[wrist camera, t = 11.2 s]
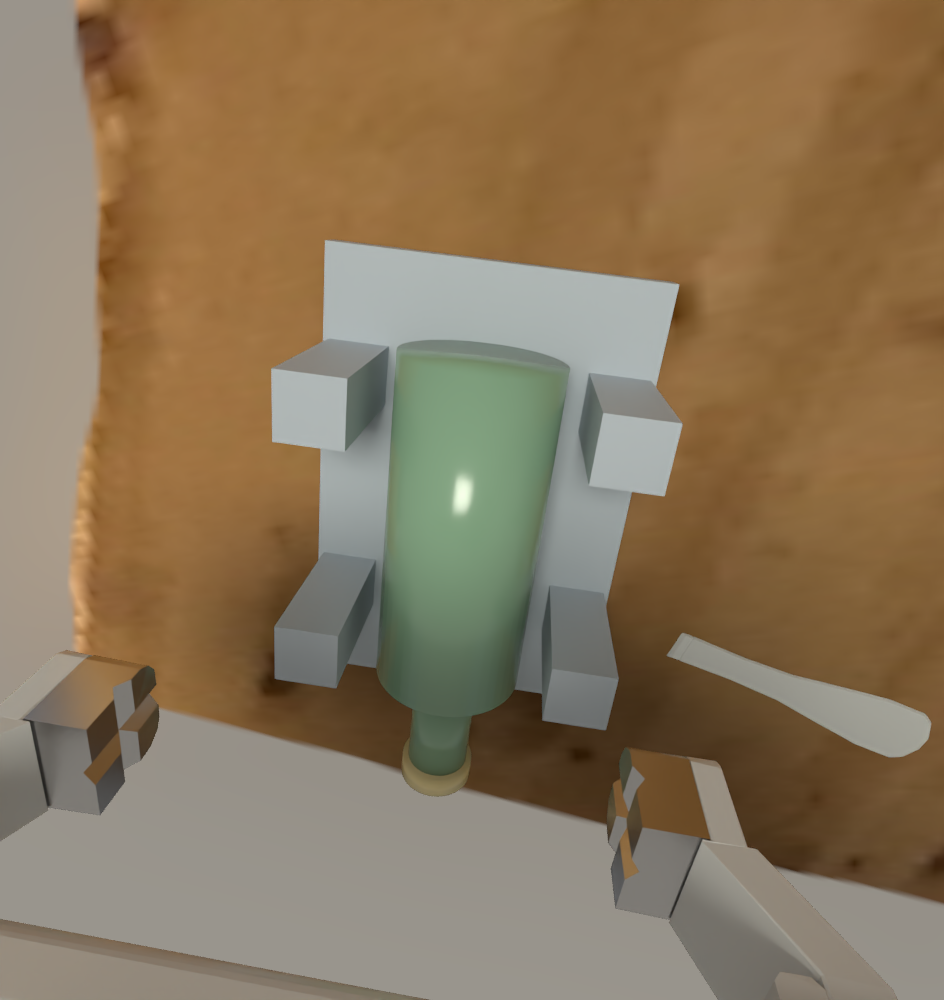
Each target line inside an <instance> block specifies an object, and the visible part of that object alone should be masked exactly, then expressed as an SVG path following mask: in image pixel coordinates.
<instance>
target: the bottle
mask: <svg viewBox="0 0 944 1000" xmlns="http://www.w3.org/2000/svg"><path fill="white" fill-rule="evenodd" d="M569 374H570V367H569V366H568V365H567V364H566V363H564V362H563V361H561V360H559V359H556V358H554V357H551V356H548V355H545V354H541V353H538V352H534V351H530V350H526V349H521V348H516V347H511V346H505V345H498V344H491V343H483V342H474V341H461V340H421V341H412V342H407V343H404V344H401V345H399V346H398V347H397V349H396V364H395V380H394V396H393V411H392V427H391V443H390V459H389V474H388V490H387V506H386V522H385V537H384V553H383V569H382V584H381V600H380V616H379V632H378V647H377V663H376V669H377V675H378V678H379V681H380V682H381V684H382V686H383V687H384V689H385V690H386V691H387V692H388V693H389V694H390V695H391V696H392V697H393V698H394V699H396V700H397V701H398V702H400V703H402V704H404V705H405V706H407V707H409V708H412V718H411V728H410V738H409V739H408V740H407V741H406V743H405V745H404V748H403V757H402V775H403V777H404V779H405V781H406V782H407V784H408V785H409V786H410V787H411V788H413V789H414V790H416V791H418V792H419V793H422V794H425V795H428V796H446V795H450V794H452V793H455V792H456V791H458V790H460V789H461V788H462V787H463V786H464V785H465V783H466V782H467V779H468V776H469V771H470V764H471V750H470V747H469V745H468V740H469V733H470V726H471V719H472V716H473V715H478V714H481V713H485V712H487V711H490V710H492V709H494V708H496V707H498V706H499V705H501V704H502V703H503V702H505V701H506V700H507V699H508V698H509V697H510V695H511V694H512V693H513V691H514V689H515V686H516V683H517V678H518V672H519V666H520V660H521V654H522V649H523V643H524V637H525V631H526V625H527V619H528V613H529V608H530V602H531V596H532V590H533V584H534V578H535V573H536V567H537V561H538V555H539V549H540V543H541V537H542V532H543V526H544V520H545V514H546V508H547V502H548V496H549V491H550V485H551V479H552V473H553V467H554V461H555V455H556V450H557V444H558V438H559V432H560V426H561V420H562V415H563V409H564V403H565V397H566V391H567V385H568V379H569Z"/></svg>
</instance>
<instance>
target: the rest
mask: <svg viewBox="0 0 944 1000" xmlns="http://www.w3.org/2000/svg"><path fill="white" fill-rule="evenodd" d="M678 288H679V284H677V283H674V282H669V281H661V280H653V279H645V278H637V277H629V276H621V275H613V274H605V273H597V272H589V271H581V270H573V269H565V268H557V267H549V266H541V265H533V264H525V263H517V262H509V261H501V260H493V259H485V258H477V257H469V256H461V255H453V254H445V253H437V252H429V251H421V250H413V249H405V248H397V247H389V246H381V245H373V244H365V243H357V242H349V241H341V240H325V270H324V318H323V342H321V343H319V344H317V345H315V346H314V347H312V348H310V349H308V350H306V351H304V352H302V353H300V354H298V355H296V356H294V357H292V358H291V359H289V360H287V361H285V362H283V363H281V364H279V365H277V366H275V367H273V368H271V370H272V442H278V443H285V444H292V445H299V446H306V447H314V448H321V464H320V513H319V560H318V562H317V563H316V565H315V566H314V568H313V569H312V571H311V572H310V574H309V575H308V577H307V578H306V580H305V581H304V583H303V584H302V586H301V587H300V589H299V590H298V592H297V593H296V595H295V596H294V598H293V599H292V601H291V602H290V604H289V605H288V607H287V608H286V610H285V611H284V613H283V614H282V616H281V617H280V619H279V620H278V622H277V623H276V625H275V626H274V649H275V679H278V680H285V681H291V682H298V683H304V684H311V685H317V686H323V687H330V688H337V685H338V683H339V681H340V679H341V676H342V674H343V672H344V670H345V667H346V665H347V664H353V665H359V666H366V667H372V668H376V663H377V647H378V632H379V616H380V600H381V584H382V569H383V553H384V537H385V522H386V506H387V490H388V474H389V459H390V443H391V427H392V411H393V396H394V380H395V364H396V349H397V347H398V346H399V345H401V344H404V343H407V342H412V341H421V340H461V341H474V342H483V343H491V344H498V345H505V346H511V347H516V348H521V349H526V350H530V351H534V352H538V353H541V354H545V355H548V356H551V357H554V358H556V359H559V360H561V361H563V362H564V363H566V364H567V365H568V366H569V367H570V374H569V379H568V385H567V391H566V397H565V403H564V409H563V415H562V420H561V426H560V432H559V438H558V444H557V450H556V455H555V461H554V467H553V473H552V479H551V485H550V491H549V496H548V502H547V508H546V514H545V520H544V526H543V532H542V537H541V543H540V549H539V555H538V561H537V567H536V573H535V578H534V584H533V590H532V596H531V602H530V608H529V613H528V619H527V625H526V631H525V637H524V643H523V649H522V654H521V660H520V666H519V672H518V678H517V683H516V686H515V690H522V691H528V692H535V693H541V694H542V721H548V722H555V723H561V724H568V725H574V726H581V727H587V728H593V729H600V730H606V728H607V724H608V720H609V716H610V712H611V708H612V704H613V700H614V696H615V692H616V688H617V684H618V680H619V678H618V672H617V667H616V661H615V655H614V650H613V644H612V638H611V633H610V627H609V622H608V616H607V610H606V604H607V599H608V595H609V591H610V586H611V582H612V577H613V573H614V569H615V564H616V560H617V556H618V551H619V547H620V542H621V538H622V534H623V529H624V525H625V520H626V516H627V512H628V507H629V503H630V499H631V494H632V492H637V493H644V494H651V495H658V496H665V492H666V488H667V484H668V480H669V476H670V472H671V468H672V464H673V460H674V456H675V452H676V448H677V444H678V440H679V436H680V432H681V428H682V424H683V423H682V422H681V421H680V419H679V418H678V417H677V415H676V414H675V413H674V411H673V410H672V409H671V407H670V406H669V404H668V403H667V402H666V400H665V399H664V398H663V396H662V395H661V394H660V392H659V391H658V390H657V388H656V385H657V380H658V376H659V371H660V367H661V363H662V358H663V354H664V350H665V345H666V341H667V336H668V332H669V328H670V323H671V319H672V314H673V310H674V306H675V301H676V297H677V293H678Z"/></svg>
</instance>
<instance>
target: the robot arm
mask: <svg viewBox="0 0 944 1000" xmlns="http://www.w3.org/2000/svg"><path fill="white" fill-rule="evenodd" d="M155 686H156V679H155V672H154V669H153V668H151V667H149V666H147V665H142V664H137V663H132V662H127V661H122V660H117V659H112V658H106V657H101V656H96V655H93V656H92V655H87V654H83V653H78V652H73V651H68V650H66V651H63V652H60V653H57V654H56V655H54V656H53V657H52V658H51V659H50V660H49V661H48V662H47V663H46V664H44V665H43V666H42V667H41V668H40V669H39V670H38V671H37V672H36V673H34V674H33V675H32V676H31V677H30V678H29V679H28V680H27V681H25V682H24V683H23V684H22V685H21V686H20V687H19V688H18V689H16V691H14V692H13V693H12V694H11V695H10V696H9V697H8V698H6V699H5V700H4V701H3V702H2V703H1V704H0V841H1V840H3V839H5V838H6V837H8V836H9V835H11V834H12V833H14V832H15V831H17V830H18V829H20V828H22V827H23V826H25V825H26V824H28V823H29V822H31V821H33V820H34V819H36V818H37V817H39V816H40V815H42V814H43V813H45V812H46V811H48V808H55V809H61V810H68V811H75V812H81V813H88V814H95V815H101V813H102V812H103V811H104V809H105V808H106V807H107V805H108V804H109V803H110V801H111V800H112V799H113V797H114V796H115V795H116V793H117V792H118V791H119V789H120V788H121V786H122V785H123V784H124V782H125V777H124V769H125V768H128V767H129V766H131V765H133V764H135V763H137V762H139V761H140V760H141V759H142V758H143V756H144V755H145V754H146V752H147V751H148V749H149V748H150V746H151V744H152V741H153V739H154V737H155V734H156V732H157V728H158V722H159V706H158V704H157V703H156V701H155V700H154V699H153V698H152V696H151V695H150V694H149V693H150V692H151V691H152V689H153V688H154V687H155ZM619 770H620V779H619V780H617V781H616V782H614V783H613V785H612V789H611V792H610V796H609V802H608V810H607V834H608V843H609V845H610V846H611V847H612V849H613V850H614V851H615V852H616V854H615V857H614V861H613V863H612V867H611V873H612V882H613V891H614V900H615V908H616V909H621V910H625V911H630V912H635V913H640V914H645V915H649V916H654V917H659V918H664V919H668V920H670V922H669V923H670V925H671V926H672V928H673V929H674V931H675V932H676V934H677V936H678V937H679V939H680V941H681V942H682V944H683V945H684V947H685V948H686V950H687V952H688V953H689V955H690V956H691V958H692V959H693V961H694V962H695V964H696V966H697V967H698V969H699V970H700V972H701V974H702V975H703V977H704V978H705V980H706V981H707V983H708V985H709V986H710V988H711V989H712V991H713V992H714V994H715V995H716V997H717V999H718V1000H898V999H897V997H896V995H895V993H894V991H893V989H892V988H891V987H890V986H889V985H888V984H887V983H886V982H885V981H884V980H883V979H882V978H881V977H880V976H879V975H878V974H877V973H876V972H875V971H874V970H873V969H872V968H871V967H870V966H869V964H868V963H867V962H865V960H864V959H863V958H862V957H861V956H860V955H859V954H858V953H857V952H856V951H855V950H854V949H853V948H852V947H851V946H850V945H849V944H848V943H847V942H846V941H845V940H844V939H843V938H842V937H841V936H840V935H839V934H838V933H837V932H836V930H835V929H834V928H833V927H832V926H831V925H830V924H829V923H828V922H827V921H826V920H825V919H824V918H823V917H822V916H821V915H820V914H819V913H818V912H817V911H816V910H815V909H814V908H813V907H812V906H811V905H810V904H809V902H808V901H807V900H806V899H804V898H803V896H802V895H801V894H800V893H799V892H798V891H797V890H796V889H795V888H794V887H793V886H792V885H791V884H790V883H789V882H788V881H787V880H786V879H785V878H784V877H783V876H782V875H781V874H780V873H779V871H778V870H777V869H776V868H775V867H774V866H773V865H772V864H771V863H770V862H769V861H768V860H767V859H766V858H765V857H764V856H763V855H762V854H761V853H760V852H759V851H758V850H757V849H753V848H748V847H747V844H746V841H745V838H744V835H743V832H742V829H741V826H740V823H739V820H738V817H737V814H736V811H735V808H734V805H733V802H732V799H731V796H730V793H729V790H728V787H727V784H726V781H725V778H724V775H723V772H722V769H721V766H720V765H719V764H718V763H717V761H713V760H706V759H700V758H693V757H687V756H686V757H683V756H679V755H673V754H666V753H660V752H654V751H648V750H642V749H635V748H629V747H626V748H625V749H624V751H623V752H622V755H621V758H620V761H619ZM0 1000H428V999H423V998H417V997H412V996H406V995H400V994H396V993H390V992H385V991H379V990H374V989H369V988H363V987H358V986H353V985H347V984H342V983H337V982H331V981H326V980H320V979H315V978H310V977H305V976H300V975H294V974H289V973H283V972H278V971H273V970H268V969H263V968H257V967H252V966H247V965H242V964H236V963H231V962H225V961H220V960H214V959H210V958H205V957H199V956H194V955H188V954H183V953H178V952H173V951H167V950H162V949H157V948H152V947H147V946H141V945H136V944H131V943H125V942H120V941H115V940H109V939H103V938H99V937H93V936H88V935H83V934H77V933H71V932H67V931H62V930H56V929H51V928H45V927H40V926H35V925H30V924H24V923H19V922H14V921H8V920H3V919H0Z"/></svg>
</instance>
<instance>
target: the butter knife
mask: <svg viewBox="0 0 944 1000" xmlns="http://www.w3.org/2000/svg"><path fill="white" fill-rule="evenodd" d="M667 656H668V657H672V658H674V659H677V660H680V661H682V662H685V663H687V664H690V665H693V666H695V667H698V668H701V669H703V670H706V671H709V672H711V673H714V674H717V675H719V676H722V677H725V678H727V679H730V680H732V681H734V682H737V683H739V684H741V685H744V686H746V687H748V688H750V689H753V690H755V691H757V692H760V693H762V694H764V695H766V696H769V697H771V698H773V699H775V700H778V701H779V702H781V703H783V704H785V705H786V706H788V707H790V708H792V709H793V710H795V711H797V712H799V713H800V714H802V715H804V716H806V717H807V718H809V719H811V720H812V721H814V722H816V723H818V724H820V725H821V726H823V727H825V728H827V729H829V730H831V731H832V732H834V733H836V734H838V735H839V736H841V737H843V738H845V739H847V740H848V741H850V742H852V743H854V744H856V745H858V746H861V747H864V748H866V749H869V750H871V751H874V752H876V753H879V754H882V755H884V756H887V757H903V756H905V755H907V754H909V753H912V752H914V751H916V750H918V749H920V747H921V746H922V745H923V744H924V743H925V742H926V741H927V740H928V738H929V733H930V727H931V721H930V720H929V718H928V717H927V715H926V714H925V713H922V712H920V711H917V710H915V709H912V708H910V707H907V706H905V705H902V704H900V703H897V702H895V701H893V700H890V699H886V698H882V697H878V696H875V695H871V694H867V693H864V692H860V691H856V690H852V689H848V688H844V687H840V686H836V685H832V684H828V683H824V682H820V681H816V680H812V679H808V678H804V677H799V676H795V675H792V674H789V673H786V672H783V671H780V670H778V669H775V668H772V667H769V666H766V665H764V664H761V663H758V662H755V661H752V660H750V659H747V658H744V657H742V656H739V655H737V654H734V653H732V652H730V651H727V650H725V649H722V648H720V647H718V646H715V645H713V644H710V643H708V642H706V641H703V640H701V639H698V638H696V637H692V636H691V635H688V634H686V633H682V634H681V635H680V636H679V638H678V639H677V641H676V642H675V644H674V645H673V647H672V648H671V650H670V651H669V653H668V654H667Z"/></svg>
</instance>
